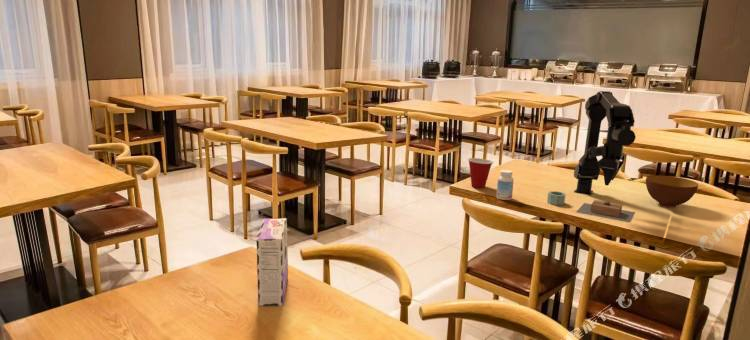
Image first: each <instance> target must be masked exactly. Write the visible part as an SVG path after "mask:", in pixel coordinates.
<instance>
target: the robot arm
mask: <svg viewBox="0 0 750 340" xmlns="http://www.w3.org/2000/svg"><path fill="white" fill-rule="evenodd" d="M584 110H585V115H586V117H587V119H588V124H587V132H586V138H585V139H586V140H585V145H584V147H585V148H584V154H583V155H582V156H581V157H580V158H579V160H578V164H577V165H576V167H575V169H574V170H573V178H575V179H576V180H577V181H576V183H577V184H576V189H575V190H573V193H574V194H575V193H577V194H582V195H588V196H591V195H592V194H593V193H594V190H592V186H593V181H594V180H595V181H598V179H599V175H600V173H601V171H602V172H603V180H604V185H605V186H609V185H610V184H611V182H612V181H614V179H615V178H616V176H617V174H618V173H619V171H620V169H621V168H622V166H623V165H624V163H625V161H626V158H627V155H626V153H624V152H623V150H624V147H627V146H630V145H633V143H634V142H635V140H636V133H635V132H634V130H632V129H631V127H634V125H635V117H634V113H633V110H632V108H631V106H630V105H628V104H626V103H625V104H624V103H621V102H620V101H619V100H618V99H617V98H616V97H615V96H614V94H613V92H612V91H610V90H609V91H608V90H607V91H605V90H599V91H597V92H596V94H593V95H591V96H590V97H588V98H587V100H586V102H585V105H584ZM605 118H606V120H607V134H606V141H605V143H603V145H601V146H599V140H600V133H601V124H602V122H603V120H604V119H605ZM597 157H601V158H600V159H598V158H597Z"/></svg>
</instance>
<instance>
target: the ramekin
mask: <svg viewBox="0 0 750 340" xmlns="http://www.w3.org/2000/svg"><path fill="white" fill-rule="evenodd" d="M566 195H567V194H566V193H565V192H562V191H554V190H552V191H549V192H548V193H547V199H546V200H547V205H553V206H564V205H565V204H566Z"/></svg>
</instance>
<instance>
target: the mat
mask: <svg viewBox="0 0 750 340" xmlns="http://www.w3.org/2000/svg"><path fill="white" fill-rule="evenodd" d="M591 204H592V203H588V202H587V203H586V202H584V203H582V205H581V206H580V207H579V208H578V209H577V210H576V211H575V213H578V214H583V215H588V216H593V217H599V218H604V219H609V220H610V219H611V220H615V221H620V222H623V223H624V222H625V223H631V222H632V219H633V217H634V215H635V214H636V211H629V210H625V209H622V210H621V214H620V215H619V217H615V216H610V215H604V214H599V213H594V212H590V210H591Z"/></svg>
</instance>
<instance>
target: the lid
mask: <svg viewBox="0 0 750 340" xmlns="http://www.w3.org/2000/svg"><path fill="white" fill-rule="evenodd" d="M590 204H591V210H590V212H594V213H599V214H604V215H610V216H615V217H619V215H620V214H621V210H623V204H621V203H620V204H619V203H614V202H611V201H602V200H598V199H594V200H593V201H592V202H591V203H590Z"/></svg>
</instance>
